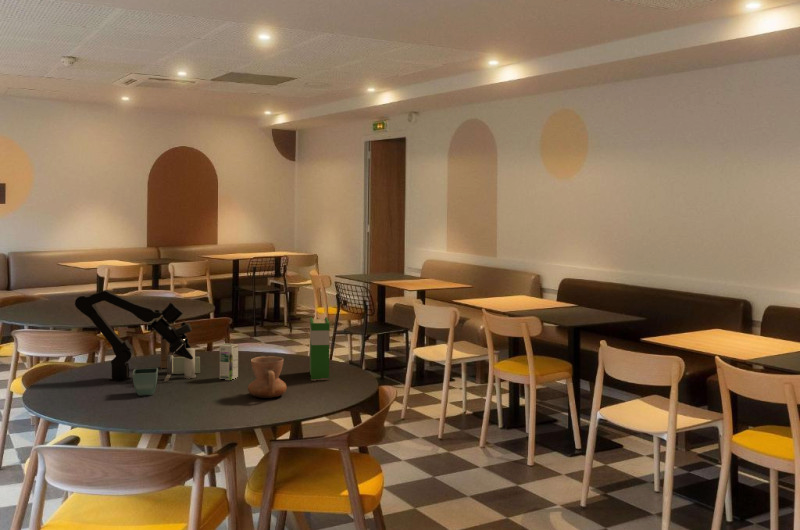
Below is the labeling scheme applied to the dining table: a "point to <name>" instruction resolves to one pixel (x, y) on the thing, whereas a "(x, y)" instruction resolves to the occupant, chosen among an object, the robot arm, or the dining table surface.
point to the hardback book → (319, 348)
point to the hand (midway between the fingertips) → (193, 356)
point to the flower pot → (145, 380)
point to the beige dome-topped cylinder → (190, 365)
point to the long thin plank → (169, 367)
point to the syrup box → (228, 361)
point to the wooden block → (164, 353)
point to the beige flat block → (180, 365)
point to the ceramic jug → (267, 377)
